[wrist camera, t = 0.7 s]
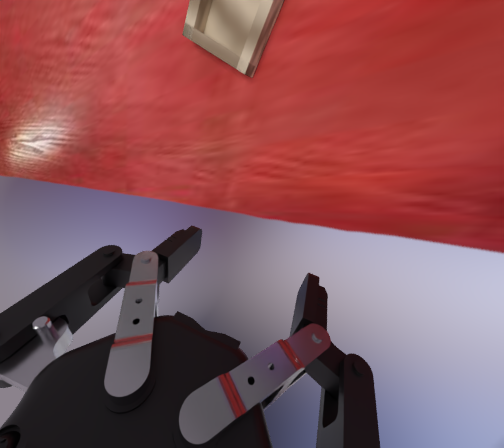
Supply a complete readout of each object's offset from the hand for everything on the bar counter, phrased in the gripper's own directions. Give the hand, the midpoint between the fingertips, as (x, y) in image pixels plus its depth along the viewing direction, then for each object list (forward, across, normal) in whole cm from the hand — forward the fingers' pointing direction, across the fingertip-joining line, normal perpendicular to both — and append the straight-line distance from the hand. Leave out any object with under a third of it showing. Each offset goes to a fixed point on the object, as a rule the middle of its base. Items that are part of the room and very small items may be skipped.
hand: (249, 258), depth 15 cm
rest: (+28, +16, -18) cm, 36 cm away
